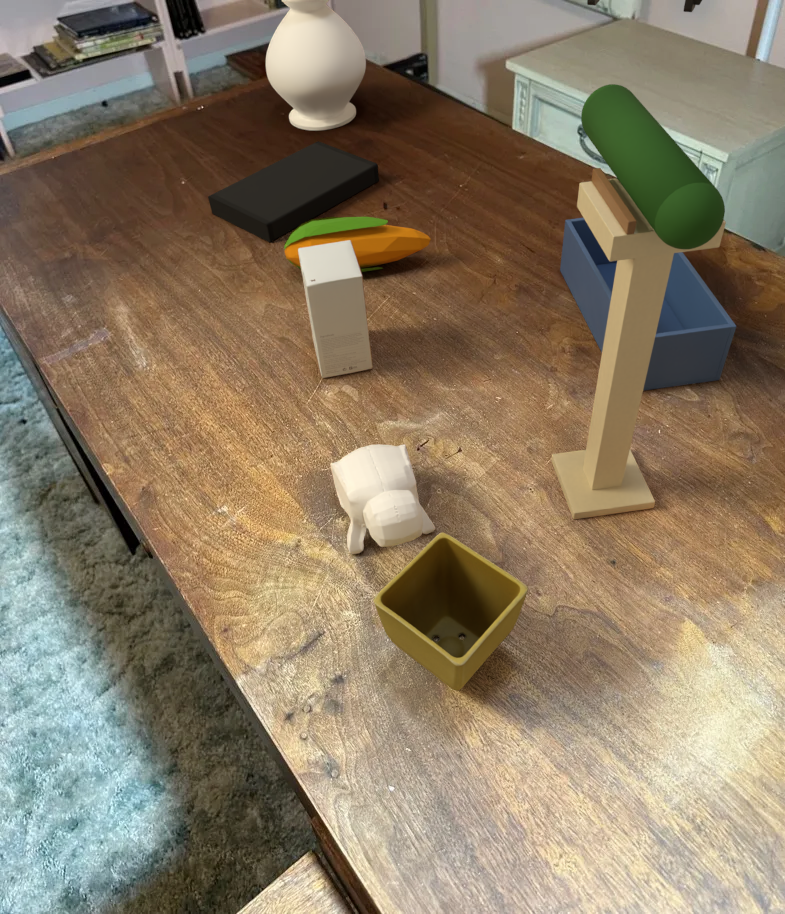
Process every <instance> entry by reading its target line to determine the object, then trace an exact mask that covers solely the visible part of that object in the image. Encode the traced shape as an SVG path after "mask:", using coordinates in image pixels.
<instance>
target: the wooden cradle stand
mask: <svg viewBox="0 0 785 914" xmlns="http://www.w3.org/2000/svg"><path fill="white" fill-rule="evenodd" d="M578 185H579V186H578V193H577V202H576V208H577V209H578V212H579V213H580V214H581V217H582V218H584V219H585V221H586V223H587V224H588V226H589V228H590V229H591V231H592V233H593V234H594V236H595V238H596V239H597V241H598V243H599V245H600V246H601V248H602V250H603V251H604V253H605V255H606V256H607V258H608V260H609V261H610V262H611V261H617V266H616V272H615V278H614V284H613V290H612V296H611V302H610V308H609V314H608V320H607V326H606V332H605V338H604V344H603V350H602V352H601V357H600V362H599V369H598V376H597V379H596V380H597V381H596V387H595V394H594V398H593V405H592V411H591V417H590V423H589V429H588V435H587V440H586V448H585V449H580V450H573V451H565V452H558V453H552V454H551V459H550V461H551V465H552V466H553V469H554V473H555V475H556V478H557V480H558V484H559V486H560V488H561V491H562V494H563V497H564V499H565V503H566V504H567V507H568V510H569V512H570V515H571V517H572V519H573V520H581V519H588V518H594V517H601V516H607V515H608V516H609V515H614V514H621V513H627V512H636V511H641V510H650V509H654V508H655V504H656V500H655V498H654V496H653V494H652V492H651V489H650V487H649V485H648V483H647V481H646V479H645V477H644V475H643V472H642V471H641V468H640V466H639V464H638V463H637V460H636V458H635V456H634V454H633V452H632V450H631V445H632V441H633V437H634V433H635V428H636V424H637V419H638V415H639V410H640V405H641V401H642V398H643V392H644V391H643V389H644V384H645V380H646V375H647V371H648V366H649V362H650V358H651V353H652V349H653V344H654V340H655V335H656V331H657V327H658V322H659V318H660V313H661V309H662V304H663V300H664V296H665V291H666V287H667V282H668V278H669V274H670V269H671V265H672V260H673V256H674V253H679V252H683V253H687V252H694V251H700V250H709V249H717V248H720V246H721V242H722V238H723V235H724V231H725V228H726V224H727V222H726V220H725V219H724V220H723V223H722V226H721V227H720V229H719V231H718V232H717V233H716V235H715V236H714V237H713V238H712V239H711V240H710V241H708V242H707V243H705V244H703V245H702V246H699V247H696V248H693V249H677V248H674V247H671V246H669V245H667V244H666V243H664V242H663V241H662V240H661V239H660V238H659V237H658V235H657V234H656V232H655V231H654V230H653V228H652V227H651V225H650V224H649V223H648V221H647V220H646V218H645V217H644V215H643V214H642V213H641V211H640V210H639V208H638V207H637V206H636V204H635V203H634V201H633V200H632V198H631V197H630V196H629V194H628V193H627V191H626V190H625V189H624V187H623V186H622V184H621V183H620V181H619V180H618V179H617V177H615V178H608V177H607V175H606V174H605V173H604V171H603V170H602V168H601V167H596V168H592V173H591V180H590V181H582V182H579V184H578Z"/></svg>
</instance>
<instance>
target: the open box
mask: <svg viewBox="0 0 785 914" xmlns="http://www.w3.org/2000/svg"><path fill="white" fill-rule="evenodd" d="M616 266H617V261H611V262H610V261H609V260H608V258H607V256H606V255H605V253H604V251H603V250H602V248H601V246H600V245H599V243H598V241H597V239H596V238H595V236H594V234H593V233H592V231H591V229H590V228H589V226H588V224H587V223H586V221H585V219H584V218H583V217H577V218H570V219H569V218H568V219H565V220H564V230H563V239H562V249H561V258H560V268H559V271H560V273H561V275H562V278H563V279H564V281H565V283H566V285H567V287H568V290H569V291H570V293H571V294H572V297H573V299H574V301H575V303H576V305H577V307H578V309H579V312H580V313H581V316H582V317H583V319H584V321H585V323H586V325H587V327H588V329H589V331H590V332H591V334H592V336H593V339H594V341H595V342H596V345H597V347H598V348H599V351H600V352H601V353H602V350H603V344H604V338H605V332H606V326H607V320H608V314H609V308H610V302H611V296H612V290H613V284H614V278H615V272H616ZM736 329H737V325H736V323H735V322H734V320H732V318H731V316H730V315H729V314H728V313H727V311H726V310H725V309H724V307H723V305H722V304H721V303H720V302H719V300H718V299H717V298H716V296H715V294H714V293H713V291H712V290H711V289H710V288H709V286H708V285H707V283H706V282H705V281H704V279H703V278H702V277H701V275H700V274H699V273H698V271H697V270H696V268H695V267H694V266H693V264H692V262H690V260H689V259H688V257H687V256H686V255H685V253H684V252H679V253H674V256H673V260H672V265H671V269H670V274H669V278H668V282H667V287H666V291H665V296H664V300H663V304H662V309H661V313H660V318H659V322H658V327H657V331H656V335H655V340H654V344H653V349H652V353H651V358H650V362H649V366H648V371H647V375H646V380H645V384H644V389H643V392H644V391H649V390H658V389H665V388H671V387H672V388H673V387H678V386H687V385H693V384H700V383H708V382H715V381H720V379H721V376H722V373H723V370H724V367H725V364H726V360H727V357H728V355H729V351H730V349H731V345H732V342H733V339H734V335H735V332H736Z"/></svg>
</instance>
